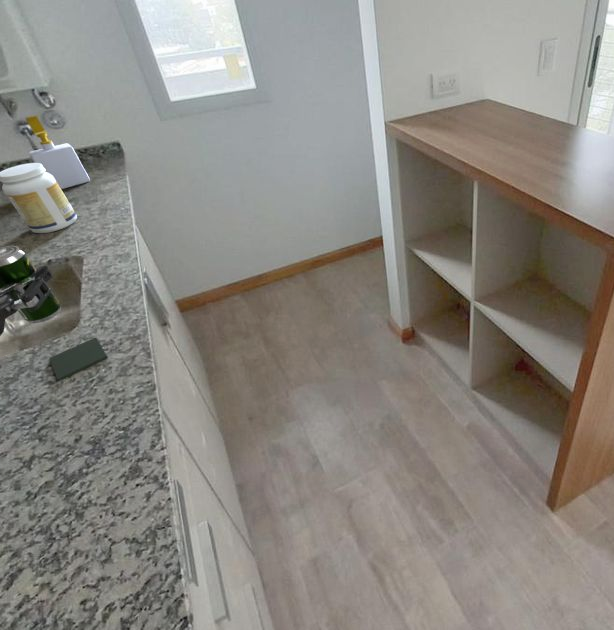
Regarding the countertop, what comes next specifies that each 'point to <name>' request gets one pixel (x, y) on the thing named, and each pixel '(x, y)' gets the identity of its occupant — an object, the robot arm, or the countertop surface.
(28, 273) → the beer can
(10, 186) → the supplement tub
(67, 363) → the coaster
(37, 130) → the soap bottle
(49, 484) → the countertop surface
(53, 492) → the countertop surface
